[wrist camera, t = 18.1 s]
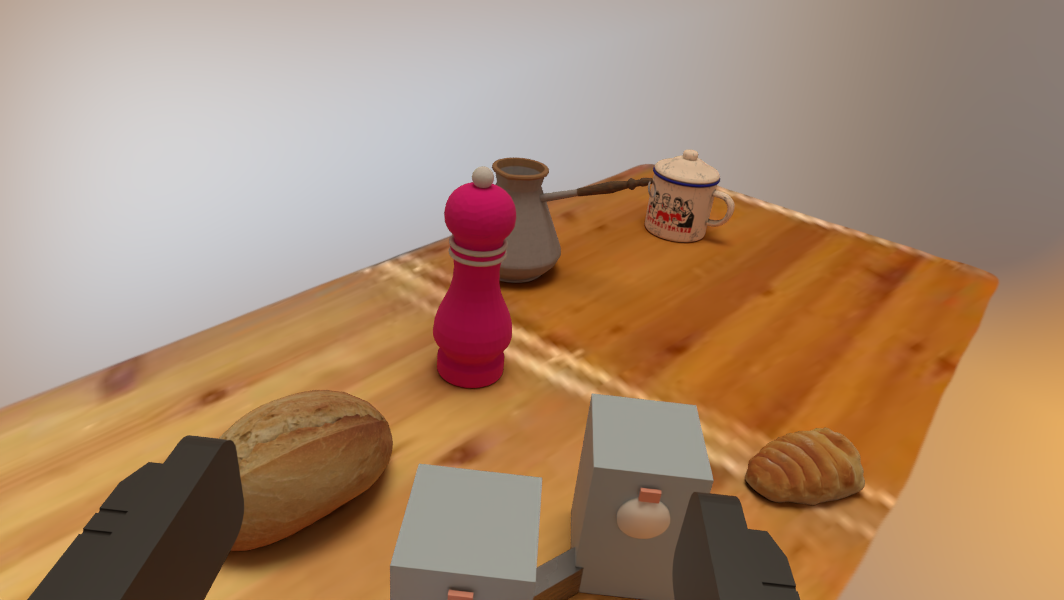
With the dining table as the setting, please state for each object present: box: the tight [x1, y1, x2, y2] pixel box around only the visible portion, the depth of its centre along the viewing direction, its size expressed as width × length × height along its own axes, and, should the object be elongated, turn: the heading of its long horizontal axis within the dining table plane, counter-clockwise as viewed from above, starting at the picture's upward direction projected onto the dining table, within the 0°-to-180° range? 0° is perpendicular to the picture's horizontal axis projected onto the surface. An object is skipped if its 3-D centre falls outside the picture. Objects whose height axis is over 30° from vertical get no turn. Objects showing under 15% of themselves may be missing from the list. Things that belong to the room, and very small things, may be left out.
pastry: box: [745, 428, 865, 505], centre depth 57 cm, size 9×7×4 cm
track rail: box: [533, 547, 584, 600], centre depth 45 cm, size 13×2×2 cm, turn 127°
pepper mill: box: [433, 167, 516, 388], centre depth 62 cm, size 7×7×20 cm
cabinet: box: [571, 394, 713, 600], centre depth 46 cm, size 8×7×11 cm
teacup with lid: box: [645, 150, 734, 242], centre depth 97 cm, size 12×9×12 cm
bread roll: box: [219, 390, 393, 551], centre depth 49 cm, size 10×15×8 cm, turn 138°
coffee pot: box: [492, 158, 656, 283], centre depth 80 cm, size 21×12×15 cm, turn 66°
